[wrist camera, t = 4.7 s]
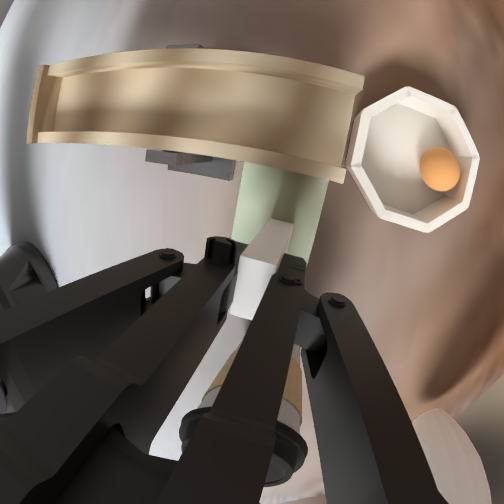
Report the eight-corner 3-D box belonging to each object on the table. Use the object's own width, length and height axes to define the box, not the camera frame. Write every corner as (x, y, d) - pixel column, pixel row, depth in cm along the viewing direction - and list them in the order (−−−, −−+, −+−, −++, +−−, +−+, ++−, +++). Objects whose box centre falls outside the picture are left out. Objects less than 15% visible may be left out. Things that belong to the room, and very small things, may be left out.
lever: (51, 219, 20) (26, 230, 17) (64, 70, 15) (38, 66, 12) (308, 280, 19) (310, 305, 16) (354, 86, 14) (367, 73, 11)
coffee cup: (223, 304, 28) (152, 415, 15) (318, 305, 26) (307, 440, 12) (235, 372, 31) (189, 477, 18) (316, 376, 29) (301, 495, 15)
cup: (471, 375, 25) (517, 513, 5) (436, 425, 28) (454, 547, 9) (407, 374, 27) (433, 547, 7) (375, 426, 30) (375, 566, 10)
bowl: (336, 198, 23) (340, 206, 19) (360, 85, 19) (368, 72, 15) (438, 230, 21) (456, 243, 17) (462, 125, 17) (484, 122, 14)
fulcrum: (106, 159, 26) (55, 167, 19) (123, 61, 22) (74, 47, 15) (232, 179, 24) (198, 191, 17) (255, 60, 20) (229, 27, 13)
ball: (460, 200, 17) (428, 188, 20) (470, 159, 16) (437, 150, 19) (442, 192, 16) (407, 179, 19) (452, 146, 15) (416, 137, 18)
